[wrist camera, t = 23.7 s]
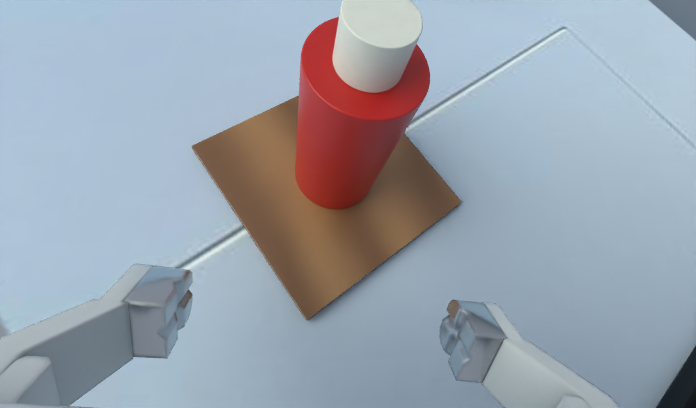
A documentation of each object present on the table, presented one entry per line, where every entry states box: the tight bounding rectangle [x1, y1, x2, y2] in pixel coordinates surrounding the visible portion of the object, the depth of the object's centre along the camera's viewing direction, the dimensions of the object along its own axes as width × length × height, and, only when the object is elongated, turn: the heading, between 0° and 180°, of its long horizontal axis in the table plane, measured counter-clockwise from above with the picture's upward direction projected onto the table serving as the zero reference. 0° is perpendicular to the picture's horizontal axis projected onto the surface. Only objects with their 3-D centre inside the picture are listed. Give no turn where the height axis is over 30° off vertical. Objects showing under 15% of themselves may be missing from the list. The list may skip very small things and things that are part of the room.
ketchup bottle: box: [295, 0, 430, 209], centre depth 15 cm, size 5×5×11 cm
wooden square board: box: [192, 96, 462, 320], centre depth 20 cm, size 12×12×1 cm
